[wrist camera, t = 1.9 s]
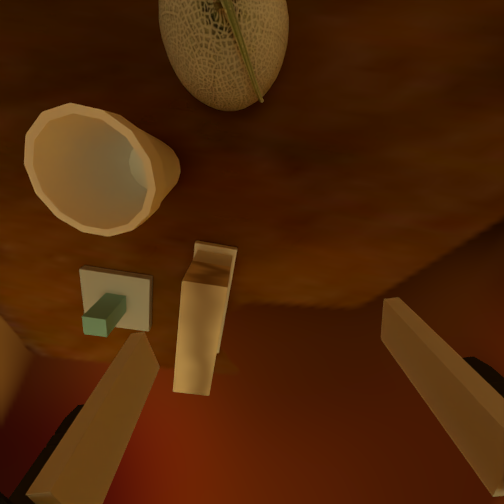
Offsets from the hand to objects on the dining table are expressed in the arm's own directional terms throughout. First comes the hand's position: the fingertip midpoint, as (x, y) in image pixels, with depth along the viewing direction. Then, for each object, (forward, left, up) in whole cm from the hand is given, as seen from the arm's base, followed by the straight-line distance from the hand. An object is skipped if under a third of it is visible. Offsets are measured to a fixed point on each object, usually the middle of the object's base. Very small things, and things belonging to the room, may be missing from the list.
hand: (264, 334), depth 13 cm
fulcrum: (-19, -16, -21) cm, 33 cm away
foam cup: (-14, +5, -22) cm, 26 cm away
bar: (-5, -14, -17) cm, 22 cm away
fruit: (-6, +17, -22) cm, 28 cm away
